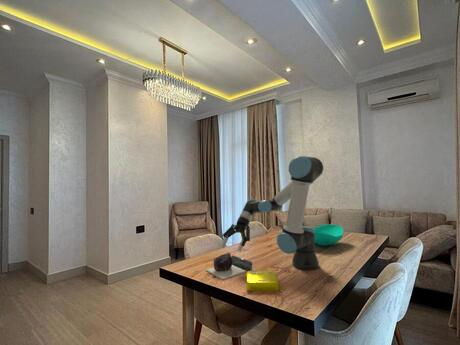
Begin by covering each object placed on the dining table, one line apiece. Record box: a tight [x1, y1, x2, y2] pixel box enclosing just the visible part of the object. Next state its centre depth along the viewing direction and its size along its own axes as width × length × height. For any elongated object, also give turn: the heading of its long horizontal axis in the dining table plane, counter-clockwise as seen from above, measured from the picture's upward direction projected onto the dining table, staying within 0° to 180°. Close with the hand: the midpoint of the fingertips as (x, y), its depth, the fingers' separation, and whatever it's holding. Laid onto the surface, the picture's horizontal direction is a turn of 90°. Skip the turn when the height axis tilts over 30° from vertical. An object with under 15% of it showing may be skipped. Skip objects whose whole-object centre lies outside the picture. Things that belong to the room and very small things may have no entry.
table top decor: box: [313, 223, 345, 247], centre depth 185 cm, size 40×28×13 cm
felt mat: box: [205, 264, 247, 281], centre depth 132 cm, size 17×16×1 cm
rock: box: [213, 252, 233, 271], centre depth 133 cm, size 12×9×10 cm
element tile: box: [245, 270, 280, 292], centre depth 115 cm, size 15×15×5 cm
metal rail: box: [231, 255, 253, 271], centre depth 139 cm, size 17×2×5 cm, turn 37°
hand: (230, 248), depth 138 cm, fingers open, 13 cm apart
